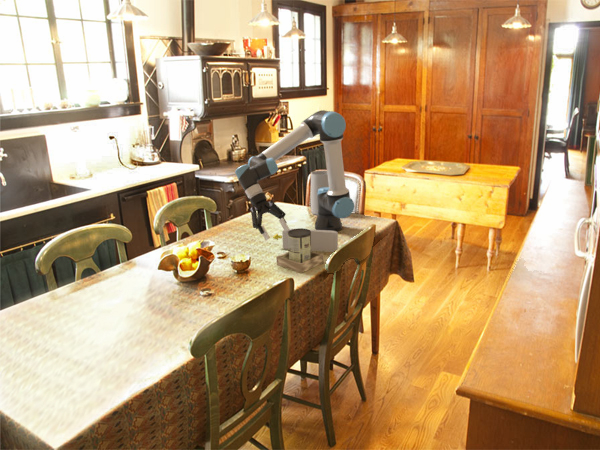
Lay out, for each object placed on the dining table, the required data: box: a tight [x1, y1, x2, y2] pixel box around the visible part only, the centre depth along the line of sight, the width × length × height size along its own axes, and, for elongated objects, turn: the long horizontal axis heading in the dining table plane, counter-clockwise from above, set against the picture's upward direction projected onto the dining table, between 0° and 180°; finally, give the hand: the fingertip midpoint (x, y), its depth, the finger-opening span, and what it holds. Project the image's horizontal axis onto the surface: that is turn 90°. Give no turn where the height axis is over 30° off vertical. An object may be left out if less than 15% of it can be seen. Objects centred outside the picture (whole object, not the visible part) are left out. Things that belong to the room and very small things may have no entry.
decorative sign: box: [272, 228, 339, 253], centre depth 238 cm, size 32×4×10 cm, turn 77°
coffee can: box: [288, 228, 311, 263], centre depth 219 cm, size 10×10×14 cm
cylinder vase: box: [310, 170, 329, 216], centre depth 296 cm, size 12×12×25 cm
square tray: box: [275, 251, 324, 274], centre depth 220 cm, size 15×15×4 cm
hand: (277, 234), depth 227 cm, fingers open, 13 cm apart
